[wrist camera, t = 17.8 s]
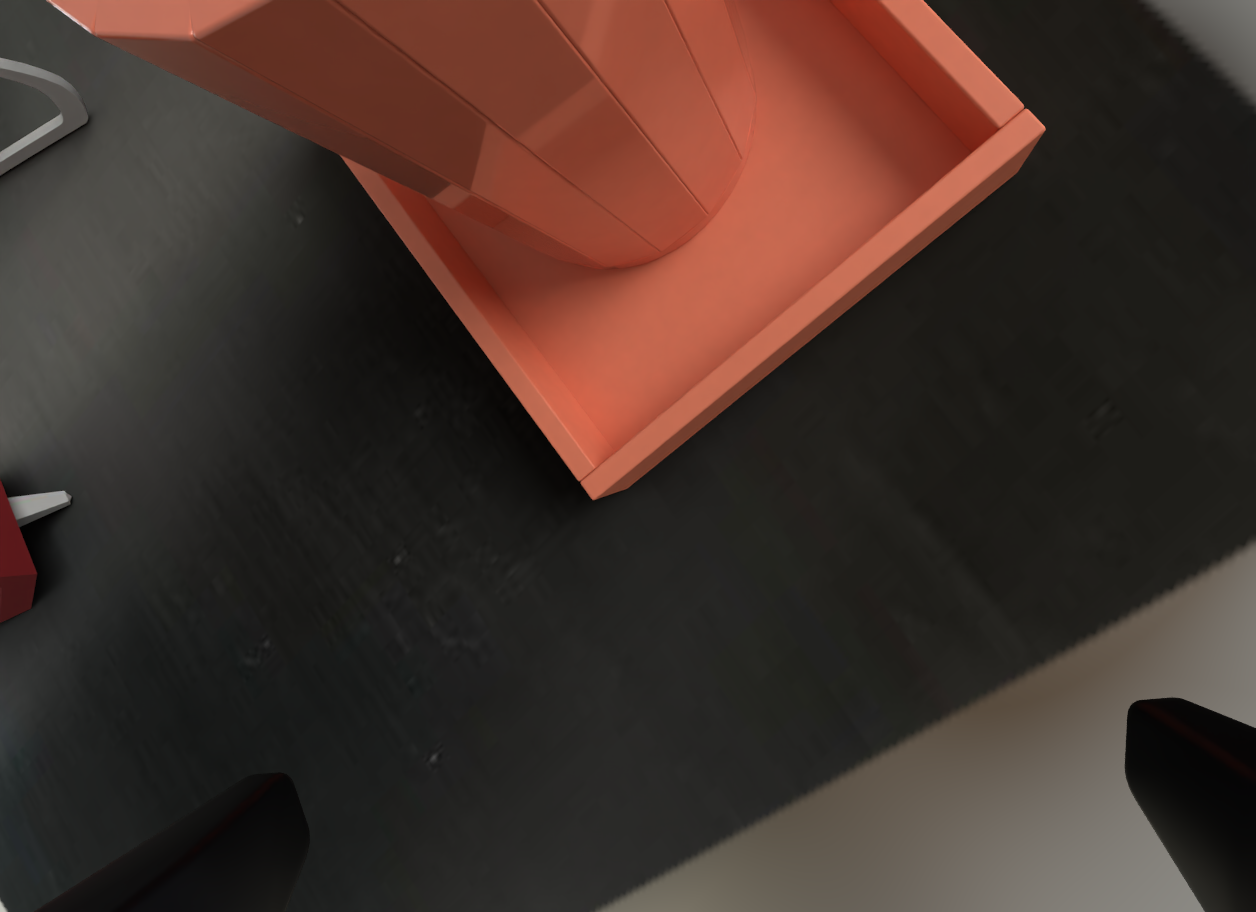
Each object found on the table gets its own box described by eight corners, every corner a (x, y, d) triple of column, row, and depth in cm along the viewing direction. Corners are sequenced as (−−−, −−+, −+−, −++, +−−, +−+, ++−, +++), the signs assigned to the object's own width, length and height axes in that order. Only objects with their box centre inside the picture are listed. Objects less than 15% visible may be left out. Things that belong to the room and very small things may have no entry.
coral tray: (1018, 171, 15) (1048, 128, 13) (626, 489, 19) (592, 501, 16) (622, -249, 17) (585, -353, 15) (343, 109, 21) (278, 71, 19)
